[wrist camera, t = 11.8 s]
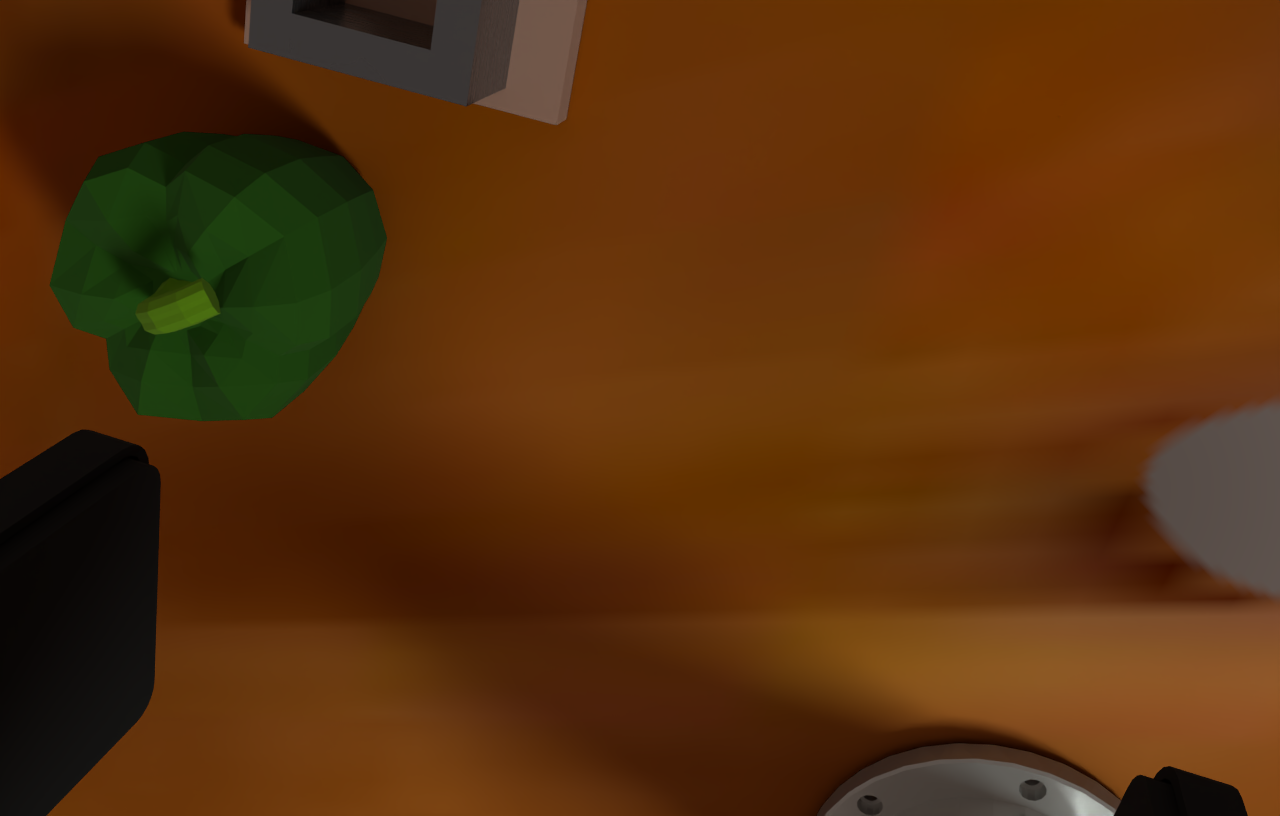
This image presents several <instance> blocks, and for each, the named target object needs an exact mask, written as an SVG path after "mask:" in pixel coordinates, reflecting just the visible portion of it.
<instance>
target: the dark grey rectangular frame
mask: <svg viewBox="0 0 1280 816" xmlns="http://www.w3.org/2000/svg"><path fill="white" fill-rule="evenodd" d="M518 7H519V0H437V4H436V12H435V19H434V26H432V25H428V24H424V23H420V22H416V21H412V20H409V19H405V18H401V17H397V16H393V15H390V14H386V13H382V12H378V11H374V10H370V9H367V8H363V7H359V6H355V5H351V4H348V3H345V0H251V12H250V28H249V44H248V47H249V48H252V49H256V50H260V51H263V52H267V53H271V54H275V55H278V56H282V57H286V58H289V59H293V60H297V61H301V62H304V63H308V64H312V65H315V66H319V67H323V68H326V69H330V70H334V71H338V72H341V73H345V74H349V75H352V76H356V77H360V78H364V79H367V80H371V81H375V82H378V83H382V84H386V85H390V86H393V87H397V88H401V89H404V90H408V91H412V92H415V93H419V94H423V95H427V96H430V97H434V98H438V99H441V100H445V101H449V102H453V103H456V104H460V105H464V106H468V105H470V104H472V103H475V102H477V101H479V100H481V99H483V98H485V97H488V96H490V95H492V94H494V93H496V92H498V91H501V90H503V89H505V88H506V83H507V77H508V70H509V64H510V58H511V51H512V45H513V39H514V32H515V26H516V19H517V13H518Z"/></svg>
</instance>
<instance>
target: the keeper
mask: <svg viewBox="0 0 1280 816" xmlns="http://www.w3.org/2000/svg"><path fill="white" fill-rule="evenodd" d="M345 3H348V4H351V5H355V6H359V7H363V8H367V9H370V10H374V11H378V12H382V13H386V14H390V15H393V16H397V17H401V18H405V19H409V20H412V21H416V22H420V23H424V24H428V25H432V26H434V19H435V12H436V4H437V0H345ZM586 3H587V0H519V7H518V13H517V19H516V26H515V32H514V39H513V45H512V51H511V58H510V64H509V70H508V77H507V83H506V88H505V89H503V90H501V91H498V92H496V93H494V94H492V95H490V96H488V97H485V98H483V99H481V100H479V101H477V102H475V103H474V104H478V105H482V106H485V107H489V108H493V109H497V110H501V111H505V112H508V113H512V114H516V115H520V116H524V117H527V118H531V119H535V120H539V121H543V122H546V123H550V124H554V125H558V124H559V123H561V122H562V121H564V120H566V117H567V112H568V106H569V100H570V94H571V89H572V83H573V77H574V72H575V66H576V60H577V55H578V49H579V43H580V38H581V32H582V26H583V21H584V15H585V9H586ZM250 12H251V0H246V17H245V35H244V43H246V44H249V28H250Z"/></svg>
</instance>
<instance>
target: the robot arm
mask: <svg viewBox="0 0 1280 816" xmlns="http://www.w3.org/2000/svg"><path fill="white" fill-rule="evenodd" d="M160 486H161V481H160V474H159V471H158V469H157V468H156V467H154V466H153V465H149V461H148V456H147V454H146V452H145V450H144V449H143V448H142V447H140V446H139V445H136V444H133V443H129V442H126V441H123V440H120V439H117V438H113V437H110V436H107V435H104V434H101V433H97V432H94V431H91V430H80V431H78V432H75V433H73V434H71V435H70V436H68V437H66V438H65V439H63V440H62V441H60V442H59V443H57V444H55V445H54V446H52V447H51V448H49V449H47V450H46V451H44V452H43V453H41V454H39V455H38V456H36V457H35V458H33V459H31V460H30V461H28V462H27V463H25V464H23V465H22V466H20V467H19V468H17V469H16V470H14V471H12V472H11V473H9V474H8V475H6V476H4V477H3V478H1V479H0V816H46V815H47V814H48V813H49V812H50V811H51V810H52V809H53V808H54V807H55V806H56V805H57V804H58V803H59V802H60V801H61V800H62V799H63V798H64V797H65V796H66V795H67V794H68V792H69V791H70V790H71V789H72V788H73V787H74V786H75V785H76V784H77V783H78V782H79V781H80V780H81V779H82V778H83V777H84V776H85V775H86V774H87V773H88V772H89V771H90V770H91V769H92V768H93V767H94V766H95V765H96V764H97V763H98V761H99V760H100V759H101V758H102V757H103V756H104V755H105V754H106V753H107V752H108V751H109V750H110V749H111V748H112V747H113V746H114V745H115V744H116V743H117V742H118V741H119V740H120V739H121V738H122V737H123V736H124V735H125V734H126V733H127V732H128V730H129V729H130V728H131V727H132V726H133V725H134V724H135V723H136V722H137V721H138V720H139V718H140V717H141V716H142V714H143V713H144V711H145V709H146V708H147V705H148V703H149V701H150V699H151V696H152V692H153V688H154V678H155V646H156V614H157V582H158V550H159V518H160ZM817 816H1248V815H1247V812H1246V809H1245V806H1244V803H1243V800H1242V797H1241V795H1240V793H1239V791H1238V790H1237V789H1236V788H1235V787H1233V786H1231V785H1228V784H1225V783H1222V782H1219V781H1215V780H1212V779H1209V778H1206V777H1202V776H1199V775H1196V774H1193V773H1190V772H1186V771H1183V770H1180V769H1177V768H1174V767H1170V766H1168V767H1163V768H1162V769H1161V770H1160V771H1159V772H1158V773H1157V774H1156V776H1155V777H1154V779H1152V778H1149V777H1146V776H1143V775H1138V776H1136V777H1135V778H1134V779H1133V780H1132V782H1131V783H1130V785H1129V786H1128V788H1127V790H1126V792H1125V794H1124V796H1123V798H1122V800H1119V799H1118V798H1117V797H1116V796H1114V795H1113V794H1112V793H1111V792H1109V791H1108V790H1107V789H1105V788H1104V787H1103V786H1102V785H1100V784H1099V783H1098V782H1097V781H1095V780H1093V779H1091V778H1089V777H1087V776H1086V775H1084V774H1082V773H1080V772H1078V771H1076V770H1074V769H1073V768H1071V767H1069V766H1067V765H1065V764H1063V763H1060V762H1057V761H1054V760H1051V759H1049V758H1046V757H1043V756H1040V755H1037V754H1035V753H1032V752H1028V751H1023V750H1018V749H1013V748H1007V747H1002V746H997V745H986V744H964V743H955V744H945V745H936V746H927V747H921V748H917V749H913V750H910V751H906V752H902V753H899V754H895V755H892V756H889V757H887V758H885V759H883V760H880V761H878V762H876V763H874V764H872V765H870V766H868V767H866V768H864V769H862V770H860V771H859V772H858V773H856V774H855V775H854V776H852V777H851V778H850V779H848V780H847V781H846V782H844V783H843V784H842V785H840V786H839V787H838V788H837V789H836V790H835V792H834V793H833V794H832V795H831V796H830V797H829V799H828V800H827V801H826V802H825V803H824V804H823V806H822V807H821V808H820V810H819V812H818V814H817Z"/></svg>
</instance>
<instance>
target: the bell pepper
mask: <svg viewBox="0 0 1280 816" xmlns="http://www.w3.org/2000/svg"><path fill="white" fill-rule="evenodd" d="M386 240H387V236H386V233H385V230H384V226H383V223H382V219H381V216H380V212H379V209H378V205H377V202H376V198H375V195H374V192H373V189H372V188H371V187H370V186H369V185H368V184H367V183H366V182H365V181H364V179H363V178H362V177H361V176H360V175H359V174H358V173H357V172H356V170H355V169H354V168H353V167H352V166H351V165H350V164H349V163H348V162H347V160H346V159H345V158H344V157H343V156H340V155H337V154H335V153H332V152H329V151H327V150H324V149H321V148H318V147H316V146H313V145H310V144H307V143H305V142H302V141H299V140H296V139H290V138H285V137H280V136H272V135H255V134H242V135H239V136H232V135H225V134H213V133H197V132H181V133H177V134H173V135H170V136H166V137H163V138H159V139H155V140H152V141H148V142H145V143H141V144H138V145H135V146H132V147H128V148H125V149H122V150H119V151H116V152H112V153H109V154H106V155H103V156H100V157H98V159H97V160H96V162H95V164H94V165H93V167H92V169H91V170H90V172H89V174H88V175H87V177H86V179H85V180H84V182H83V184H82V186H81V189H80V191H79V193H78V195H77V197H76V199H75V201H74V204H73V206H72V208H71V210H70V212H69V214H68V217H67V219H66V221H65V225H64V229H63V233H62V237H61V241H60V245H59V249H58V254H57V258H56V262H55V266H54V270H53V274H52V278H51V282H50V287H51V289H52V290H53V292H54V294H55V296H56V297H57V299H58V301H59V303H60V305H61V306H62V308H63V310H64V312H65V313H66V315H67V317H68V319H69V321H70V322H71V324H72V326H73V328H76V329H79V330H82V331H85V332H88V333H91V334H94V335H97V336H100V337H103V338H106V341H107V350H108V359H109V368H110V371H111V372H112V374H113V375H114V377H115V379H116V380H117V382H118V383H119V385H120V387H121V388H122V390H123V391H124V393H125V395H126V396H127V398H128V399H129V401H130V403H131V404H132V406H133V407H134V409H135V411H136V412H137V414H138V415H147V416H157V417H167V418H177V419H187V420H197V421H219V420H247V419H262V418H272V417H274V416H275V415H276V414H277V413H278V412H280V411H281V410H282V409H283V408H284V407H286V406H287V405H288V404H289V403H290V402H292V401H293V400H294V399H295V398H296V397H298V396H299V395H300V394H301V393H302V392H304V391H305V389H306V388H307V387H308V386H309V385H310V384H311V383H312V382H313V381H314V380H315V378H316V377H317V376H318V375H319V374H320V373H321V372H322V371H323V370H324V368H325V367H326V366H327V365H328V364H329V363H330V362H331V361H332V360H333V358H334V357H335V356H336V355H337V353H338V351H339V350H340V348H341V347H342V345H343V343H344V342H345V340H346V338H347V337H348V335H349V334H350V332H351V330H352V329H353V327H354V325H355V323H356V321H357V319H358V317H359V314H360V312H361V310H362V308H363V306H364V304H365V302H366V301H367V299H368V297H369V296H370V294H371V292H372V290H373V288H374V286H375V283H376V281H377V279H378V277H379V273H380V268H381V263H382V259H383V254H384V249H385V245H386Z"/></svg>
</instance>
